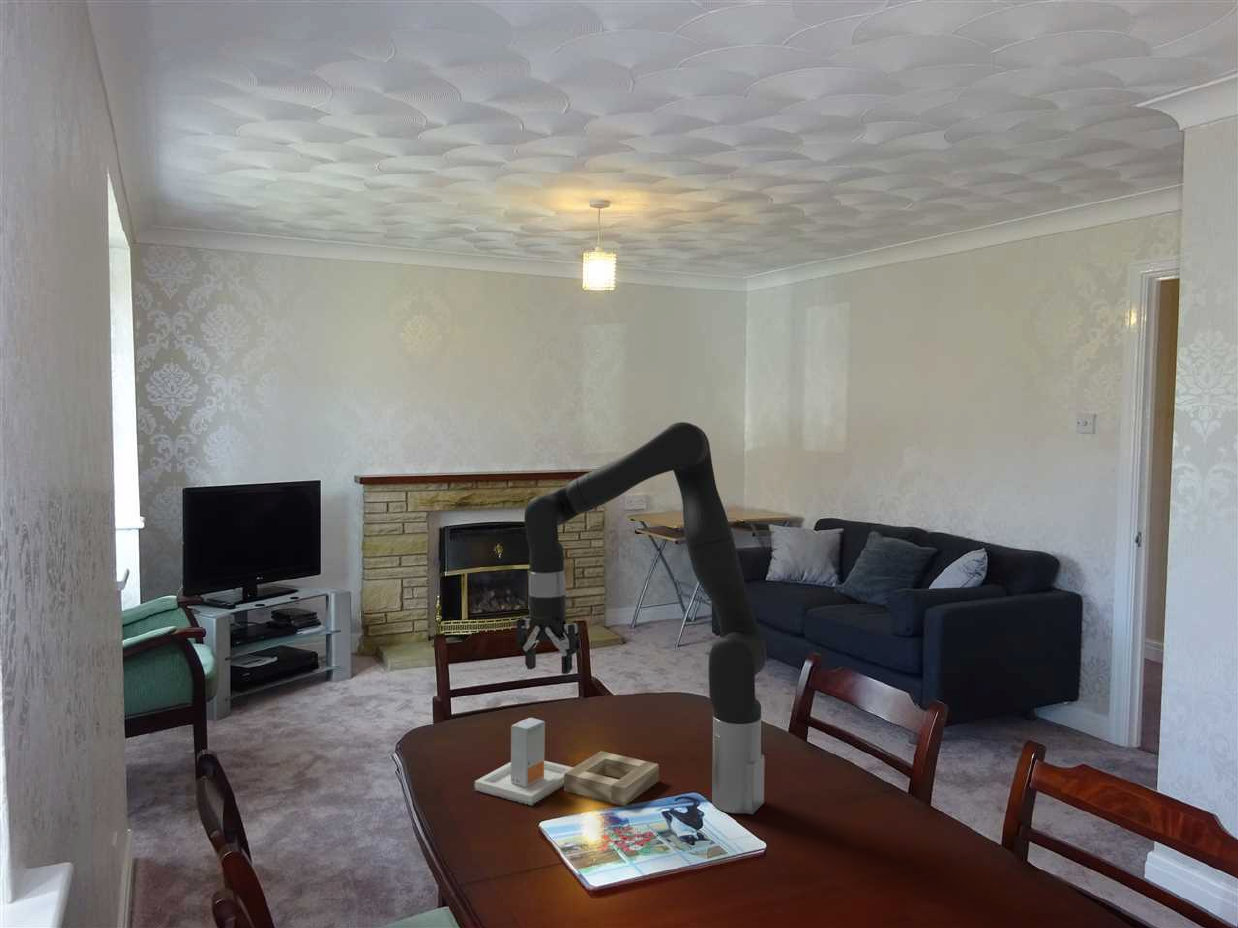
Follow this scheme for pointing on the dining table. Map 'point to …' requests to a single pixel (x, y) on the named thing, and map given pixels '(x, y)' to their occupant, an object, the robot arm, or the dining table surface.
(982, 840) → the dining table surface
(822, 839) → the dining table surface
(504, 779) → the grey tray
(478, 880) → the dining table surface
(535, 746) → the skincare box
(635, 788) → the frame
